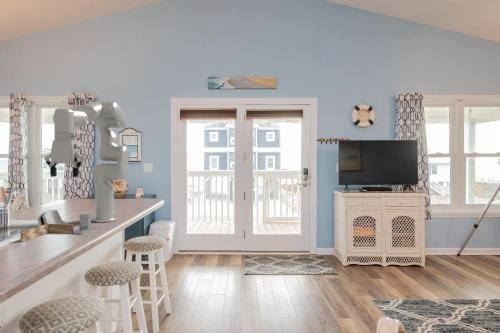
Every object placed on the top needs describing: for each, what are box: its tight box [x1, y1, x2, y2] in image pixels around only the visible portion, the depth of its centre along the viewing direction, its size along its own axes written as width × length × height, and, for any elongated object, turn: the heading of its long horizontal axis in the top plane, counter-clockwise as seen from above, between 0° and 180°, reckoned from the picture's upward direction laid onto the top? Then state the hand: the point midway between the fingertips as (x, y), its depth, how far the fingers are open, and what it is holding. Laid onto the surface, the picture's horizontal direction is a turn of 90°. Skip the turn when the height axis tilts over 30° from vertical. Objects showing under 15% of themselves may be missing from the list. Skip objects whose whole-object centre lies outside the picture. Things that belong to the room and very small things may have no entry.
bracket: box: [73, 213, 92, 235], centre depth 157 cm, size 8×4×8 cm, turn 178°
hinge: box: [37, 209, 67, 227], centre depth 164 cm, size 17×5×10 cm, turn 9°
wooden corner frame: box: [20, 223, 74, 243], centre depth 147 cm, size 18×12×4 cm, turn 178°
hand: (64, 176), depth 145 cm, fingers open, 9 cm apart
